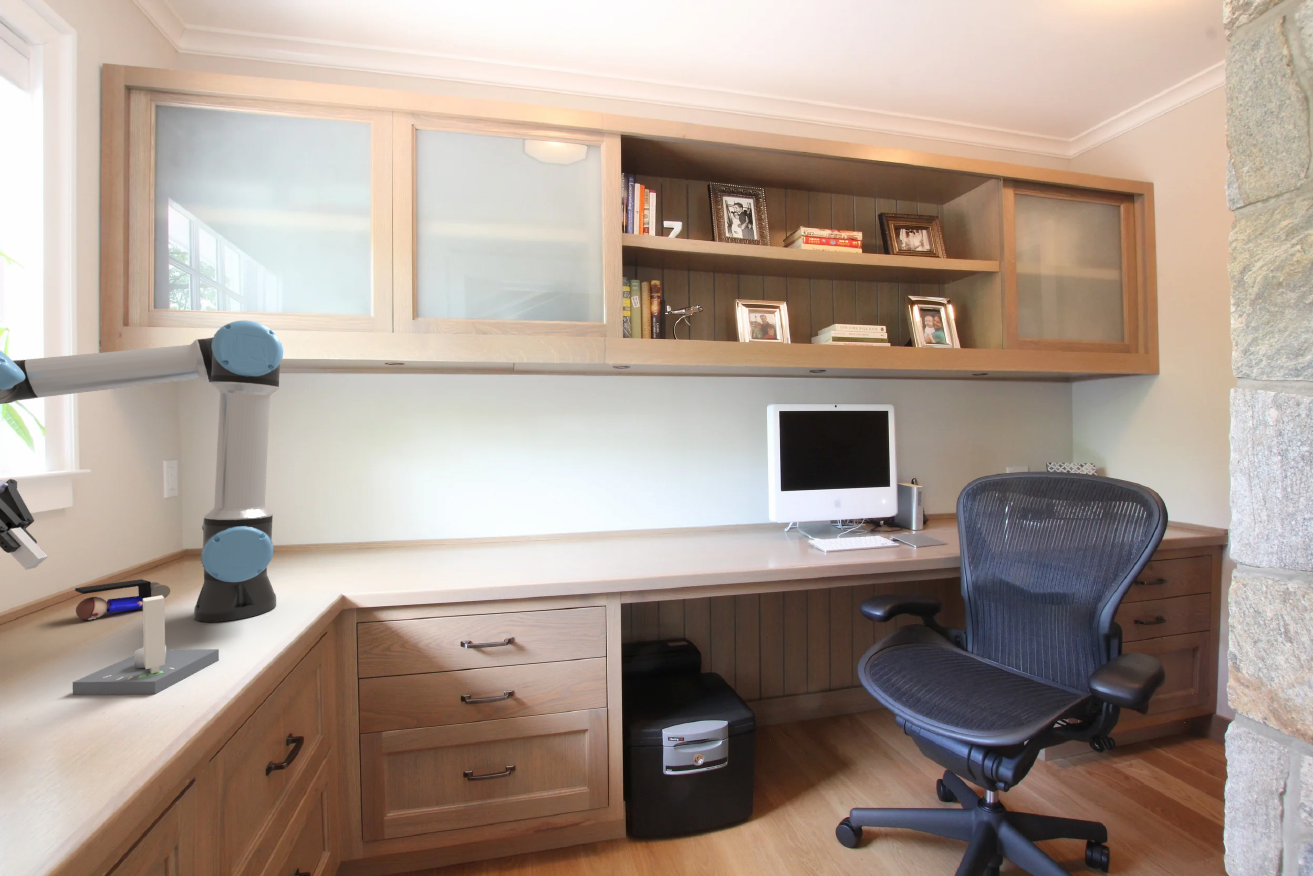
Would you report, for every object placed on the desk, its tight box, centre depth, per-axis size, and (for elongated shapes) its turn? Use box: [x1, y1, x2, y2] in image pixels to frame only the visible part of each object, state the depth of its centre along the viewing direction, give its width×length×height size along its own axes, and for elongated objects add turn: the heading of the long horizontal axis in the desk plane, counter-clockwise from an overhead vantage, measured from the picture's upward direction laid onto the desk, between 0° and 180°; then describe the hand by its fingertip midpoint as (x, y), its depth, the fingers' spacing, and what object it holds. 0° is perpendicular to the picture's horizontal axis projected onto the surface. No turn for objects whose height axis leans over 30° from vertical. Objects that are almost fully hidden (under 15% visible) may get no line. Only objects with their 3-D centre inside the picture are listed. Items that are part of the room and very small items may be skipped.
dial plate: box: [72, 648, 220, 696], centre depth 95 cm, size 13×13×2 cm
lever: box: [133, 595, 167, 674], centre depth 94 cm, size 8×4×12 cm, turn 48°
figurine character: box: [74, 578, 171, 621], centre depth 129 cm, size 7×8×15 cm
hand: (37, 563), depth 92 cm, fingers closed
